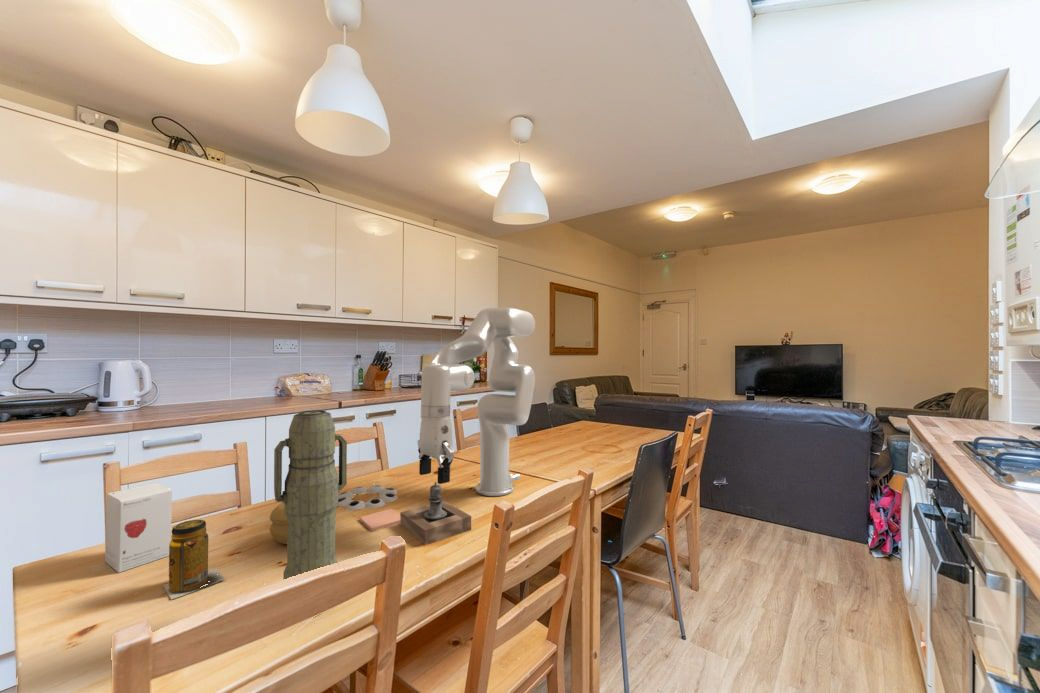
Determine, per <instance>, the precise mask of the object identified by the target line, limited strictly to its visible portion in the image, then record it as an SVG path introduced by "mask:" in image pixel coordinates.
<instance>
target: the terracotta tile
mask: <svg viewBox="0 0 1040 693" xmlns="http://www.w3.org/2000/svg"><path fill="white" fill-rule="evenodd" d="M359 521H360V522H361V523H362V524H363V525H364V526H365V527H367V528H368V529H369V531H371V532H374V531H378V530H382V529H385V528H388V527H391V526H395V525H397V524H398V525H399V524H400V514H399V513H398V512H397V511H395V510H394V509H392V508H390V509H385V510H381V511H378V512H372V513H369V514H366V515H362V516H359Z"/></svg>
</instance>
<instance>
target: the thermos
mask: <svg viewBox="0 0 1040 693" xmlns="http://www.w3.org/2000/svg"><path fill="white" fill-rule="evenodd" d="M335 442H338V472H337V469H336V465H335V464H336V460H335V456H334V455H335V453H336V443H335ZM347 444H348V443H347V441H346V439H345V438H344V437H343V436H342V435H341V434H336V426H335V423H334V420H333V416H332V414H331V412H327V410H323V409H322V410H320V409H318V410H316V409H315V410H313V409H312V410H305V411H299V412H298V413H297V414H296V413H295V414H294V415H293V416H292V420H291V422H290V426H289V427H288V438H285V439H284V440H280V441H279V443H278V444H277V445H276V446H275V448H273V449H274V451H273V452H274V453H273V455H274V458H273V459H274V460H273V461H274V462H273V467H274V468H273V471H274V472H273V474H274V475H273V492H274V493H273V494H274V495H273V496H274V499H275V501H276V502H277V503H284V512H285V514H286V516H287V544H286V565H285V568H284V570H283V577H282V578H283V580H284V579H287V578H289V577H292V576H296V575H298V574H302V573H304V572H308V571H311V570H314V569H317V568H320V567H324V566H327V565H331V564H334V563H338V560H337V556H336V510H337V508H338V507H337V505H338V502H339V501H338V494H340V491H342V490H343V488H345V487H346V485H347V479H348V478H347V476H348V475H347V469H348V468H347V466H348V465H347V464H348V463H347V459H348V458H347V456H348V455H347V453H348V452H347V451H348V450H347V449H348V447H347ZM285 447H287V448H288V458H289V464H288V471H287V474H286V477H285V479H284V490H282V489H283V488H282V486H283V484H282V482H283V481H282V476H283V475H282V474H283V472H282V471H283V469H282V468H283V449H284V448H285ZM338 564H339V563H338Z"/></svg>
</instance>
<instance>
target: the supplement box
mask: <svg viewBox="0 0 1040 693" xmlns="http://www.w3.org/2000/svg"><path fill="white" fill-rule="evenodd" d="M172 491H173V489H172V488H170V487H167V486H164V485H162V484H161V483H159V482H156V483H155V482H154V483H152V484H151V483H150V484H146V485H142V486H137V487H131V488H127V489H124V490H123V489H122V490H118V491H114V492H113V491H112V492H108V493H106V505H105V506H106V507H105V508H106V509H105V510H106V512H105V514H106V515H105V544H104V545H105V547H104V548H105V549H104V550H105V552H104V556H105V557H104V562H106V563H107V564H108V565H109V566H110V567H111V568H113V569H114V570H115V571H116V572H117V573H121V572H125V571H128V570H132V569H133V568H136V567H140V566H142V565H143V566H144V565H147V564H149V563H151V562H155V561H158V560H161V559H163V558H167V557H169V544H170V541H172V505H173V504H172V501H173V500H172V499H173V497H172V496H173V495H172V493H173V492H172Z"/></svg>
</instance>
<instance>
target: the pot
mask: <svg viewBox="0 0 1040 693" xmlns="http://www.w3.org/2000/svg"><path fill="white" fill-rule="evenodd" d="M269 521H271V524H270V526H269V534H270V535H271V537H272V538H273V539H274V540H275V541H276V542H277V543H280V544H284V545H287V516H286V514H285V512H284V503H283V502H280V503H279V504H278V505H277V506H275V508H273V510H272V511H271V512H270V514H269Z"/></svg>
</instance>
